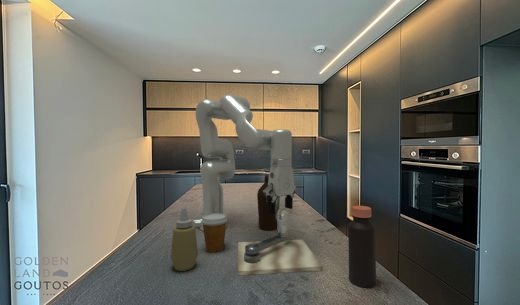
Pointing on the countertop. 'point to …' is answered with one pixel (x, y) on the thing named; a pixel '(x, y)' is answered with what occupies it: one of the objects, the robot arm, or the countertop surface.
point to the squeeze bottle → (184, 244)
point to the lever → (281, 234)
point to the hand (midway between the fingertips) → (280, 210)
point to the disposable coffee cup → (214, 231)
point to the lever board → (278, 259)
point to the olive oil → (266, 209)
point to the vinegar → (362, 248)
